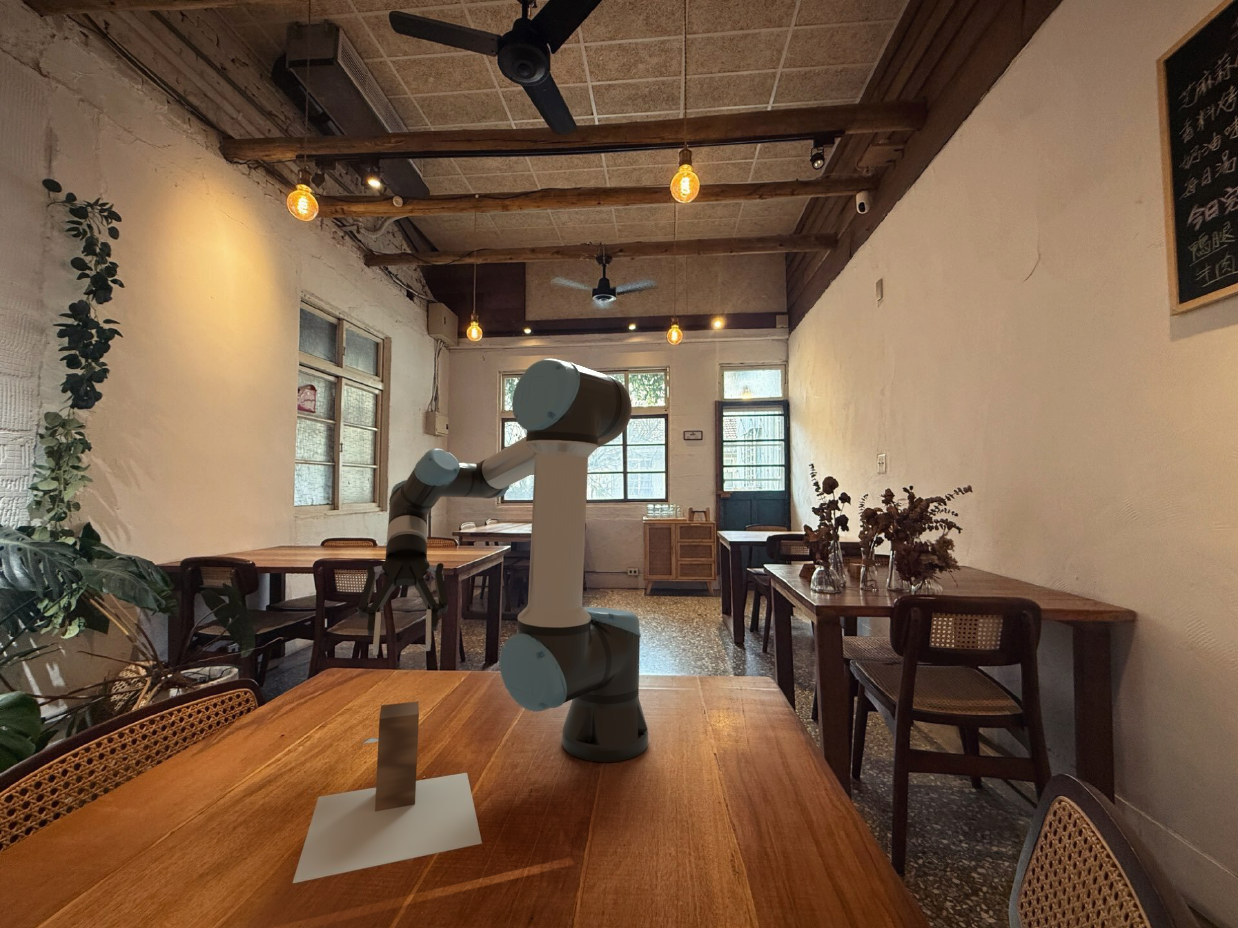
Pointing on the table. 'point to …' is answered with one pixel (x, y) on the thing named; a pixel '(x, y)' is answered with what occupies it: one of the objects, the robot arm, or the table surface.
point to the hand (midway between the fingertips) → (402, 648)
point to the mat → (387, 828)
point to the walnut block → (397, 756)
